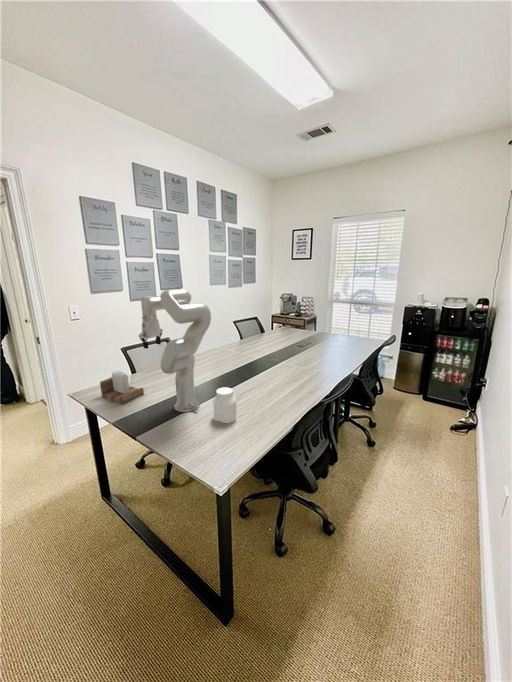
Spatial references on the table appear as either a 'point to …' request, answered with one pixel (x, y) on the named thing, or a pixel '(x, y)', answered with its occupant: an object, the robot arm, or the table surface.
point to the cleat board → (116, 396)
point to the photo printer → (120, 382)
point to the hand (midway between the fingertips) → (152, 346)
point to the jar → (224, 405)
